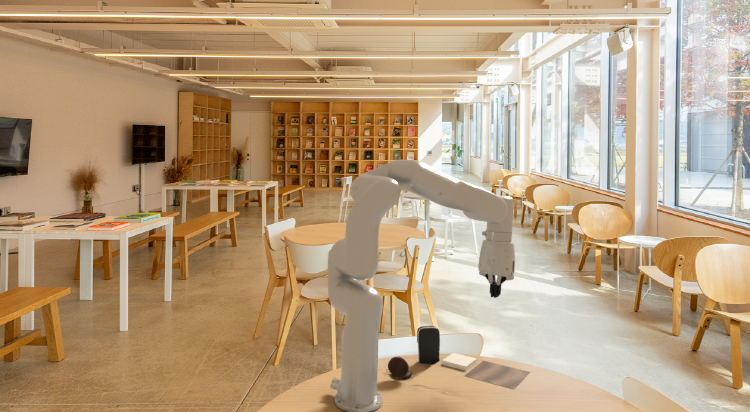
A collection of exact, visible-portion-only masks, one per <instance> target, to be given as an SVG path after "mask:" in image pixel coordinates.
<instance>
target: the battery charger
mask: <svg viewBox="0 0 750 412" xmlns="http://www.w3.org/2000/svg"><path fill="white" fill-rule="evenodd" d="M440 336H441V335H440V329H439V328H438V327H437V326H436V325H424V326H419V327H418V328H417V332H416V343H417V352H418V357H417V359H418V360H417V361H418V363H419V364H422V365H423V364H435V363H439V362H440V360H441V359H440V351H441V349H440V347H441V344H440V343H441V337H440Z"/></svg>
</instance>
